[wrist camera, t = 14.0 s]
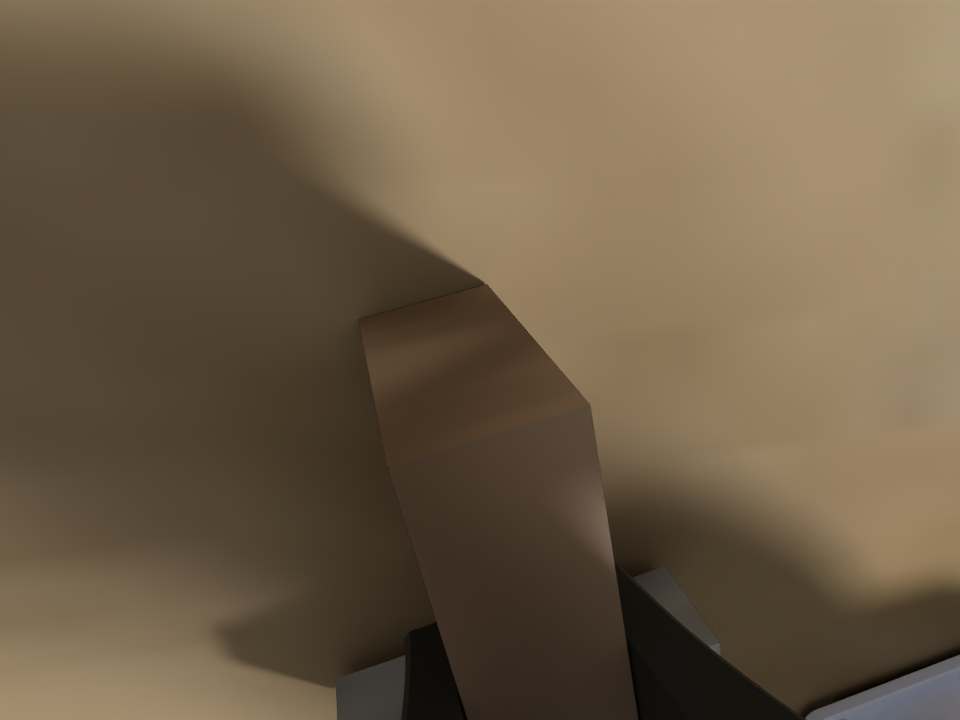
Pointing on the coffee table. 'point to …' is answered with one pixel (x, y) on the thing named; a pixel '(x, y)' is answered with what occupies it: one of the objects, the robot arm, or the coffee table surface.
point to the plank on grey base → (501, 519)
